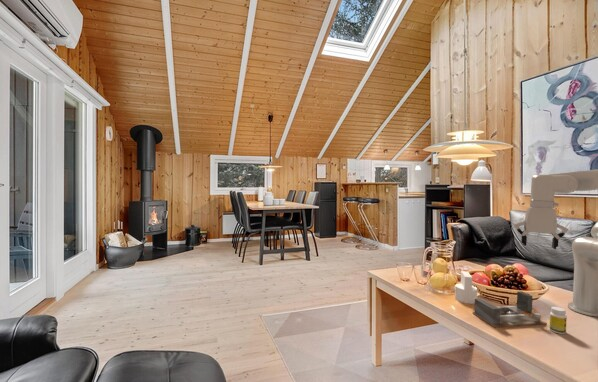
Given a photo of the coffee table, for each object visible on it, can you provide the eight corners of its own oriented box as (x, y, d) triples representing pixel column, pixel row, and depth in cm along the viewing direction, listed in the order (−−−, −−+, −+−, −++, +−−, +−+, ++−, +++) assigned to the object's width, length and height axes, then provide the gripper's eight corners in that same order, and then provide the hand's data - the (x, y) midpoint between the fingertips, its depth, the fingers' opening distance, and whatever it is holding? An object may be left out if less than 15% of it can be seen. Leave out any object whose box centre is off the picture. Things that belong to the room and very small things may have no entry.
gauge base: (520, 311, 129) (520, 295, 129) (546, 324, 117) (547, 307, 117) (472, 313, 126) (473, 297, 126) (494, 327, 114) (495, 310, 114)
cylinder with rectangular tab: (479, 304, 135) (480, 278, 135) (456, 302, 138) (457, 276, 138) (474, 297, 144) (475, 272, 143) (453, 294, 147) (454, 270, 146)
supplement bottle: (567, 335, 108) (568, 312, 108) (550, 332, 111) (551, 309, 111) (564, 330, 113) (565, 307, 112) (548, 326, 115) (549, 305, 115)
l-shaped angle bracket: (520, 312, 125) (521, 291, 125) (539, 322, 116) (540, 299, 116) (501, 313, 124) (502, 291, 124) (520, 323, 115) (520, 300, 115)
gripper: (566, 206, 122) (563, 248, 123) (514, 203, 130) (511, 242, 131) (572, 207, 116) (569, 251, 116) (517, 204, 124) (514, 245, 124)
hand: (538, 246), depth 124 cm, fingers open, 9 cm apart
